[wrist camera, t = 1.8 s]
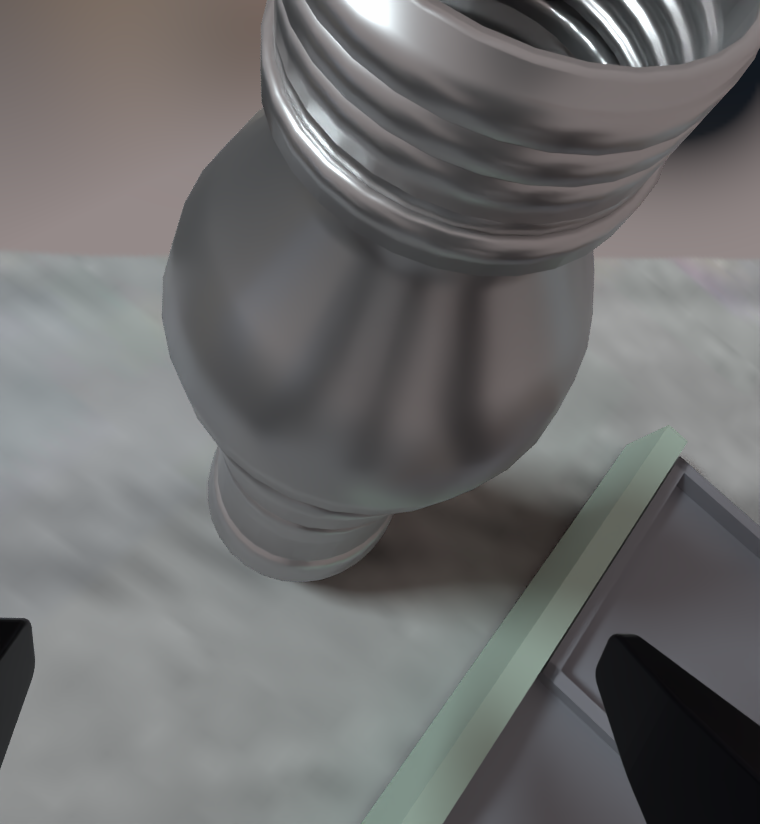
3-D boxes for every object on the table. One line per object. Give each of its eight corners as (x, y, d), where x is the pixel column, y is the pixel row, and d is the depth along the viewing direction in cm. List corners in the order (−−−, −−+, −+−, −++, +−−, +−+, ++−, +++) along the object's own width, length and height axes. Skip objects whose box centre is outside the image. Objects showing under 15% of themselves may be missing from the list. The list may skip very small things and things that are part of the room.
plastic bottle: (174, 522, 21) (-374, -231, 2) (283, 386, 23) (410, -450, 5) (318, 623, 21) (874, 617, 2) (412, 475, 23) (1005, -62, 5)
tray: (611, 1277, 16) (679, 1401, 14) (283, 934, 17) (289, 989, 15) (855, 646, 25) (925, 649, 22) (627, 444, 26) (668, 425, 23)
